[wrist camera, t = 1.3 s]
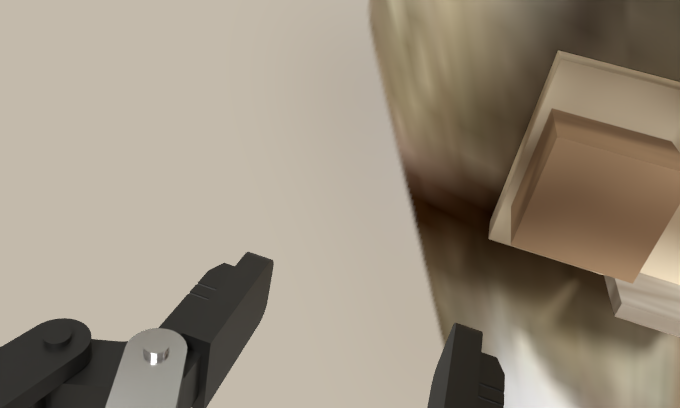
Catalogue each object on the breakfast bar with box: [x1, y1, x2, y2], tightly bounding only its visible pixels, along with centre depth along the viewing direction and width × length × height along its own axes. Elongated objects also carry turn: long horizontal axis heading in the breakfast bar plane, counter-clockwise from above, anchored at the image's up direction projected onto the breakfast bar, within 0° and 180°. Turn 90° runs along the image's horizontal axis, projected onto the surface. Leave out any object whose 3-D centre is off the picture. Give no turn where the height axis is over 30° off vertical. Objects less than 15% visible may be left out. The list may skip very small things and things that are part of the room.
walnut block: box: [511, 108, 680, 284], centre depth 25 cm, size 6×6×4 cm
